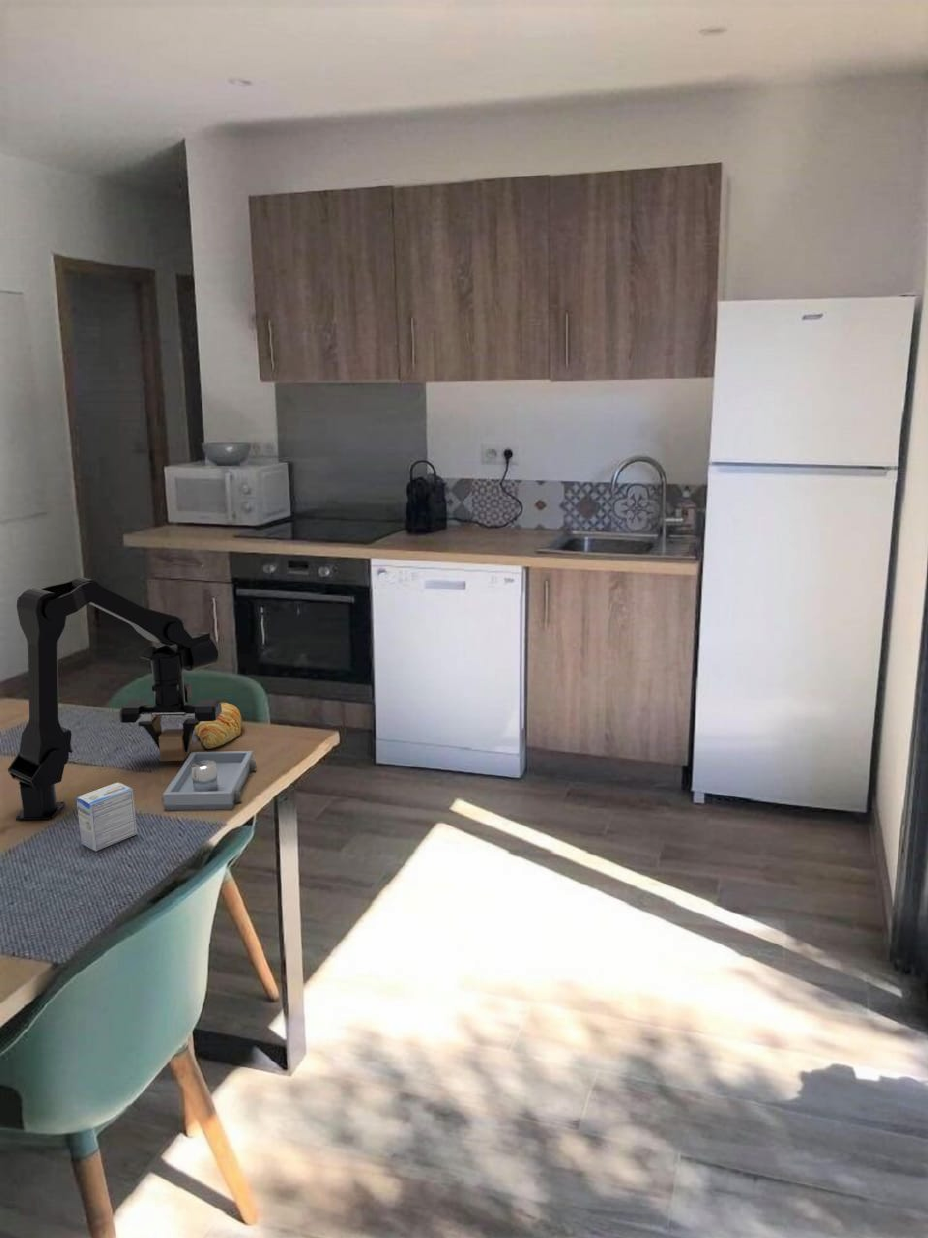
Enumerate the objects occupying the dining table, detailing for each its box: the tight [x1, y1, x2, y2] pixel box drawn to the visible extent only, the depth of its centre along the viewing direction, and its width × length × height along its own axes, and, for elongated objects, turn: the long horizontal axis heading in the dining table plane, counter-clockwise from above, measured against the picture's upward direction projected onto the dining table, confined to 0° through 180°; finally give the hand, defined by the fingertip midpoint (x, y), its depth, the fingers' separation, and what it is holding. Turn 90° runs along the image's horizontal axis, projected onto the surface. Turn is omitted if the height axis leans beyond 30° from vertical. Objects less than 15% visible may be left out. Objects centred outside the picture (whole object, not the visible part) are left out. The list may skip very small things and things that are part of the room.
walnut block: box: [159, 728, 191, 762], centre depth 198 cm, size 4×4×5 cm
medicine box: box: [76, 782, 138, 852], centre depth 165 cm, size 8×4×9 cm, turn 141°
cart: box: [161, 750, 257, 811], centre depth 186 cm, size 20×14×3 cm
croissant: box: [194, 701, 243, 750], centre depth 213 cm, size 21×10×8 cm, turn 3°
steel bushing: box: [191, 760, 218, 792], centre depth 182 cm, size 4×4×5 cm
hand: (174, 751), depth 198 cm, fingers closed on walnut block, 4 cm apart
